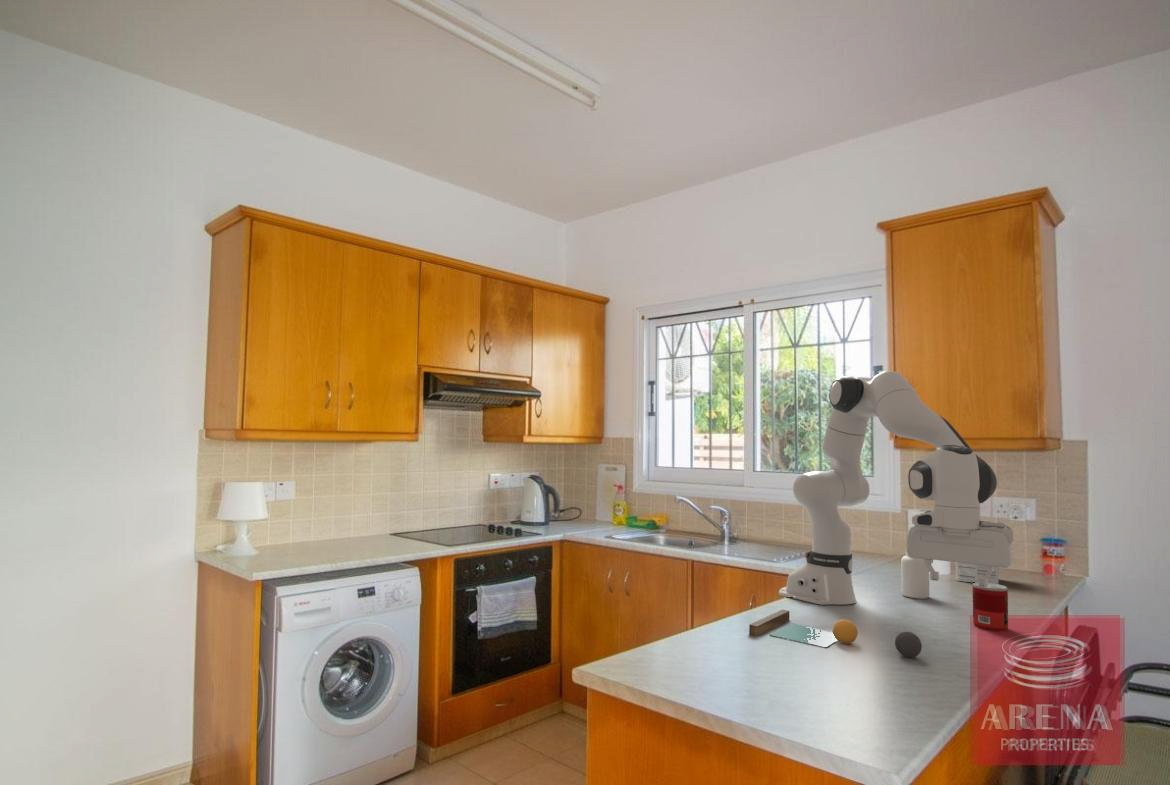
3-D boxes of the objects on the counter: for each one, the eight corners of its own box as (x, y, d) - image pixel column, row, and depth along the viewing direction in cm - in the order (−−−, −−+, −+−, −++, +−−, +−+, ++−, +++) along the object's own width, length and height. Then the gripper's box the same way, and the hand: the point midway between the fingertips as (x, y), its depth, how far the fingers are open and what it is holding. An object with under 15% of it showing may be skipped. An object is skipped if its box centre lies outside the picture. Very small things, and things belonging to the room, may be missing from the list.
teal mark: (769, 635, 165) (769, 634, 165) (792, 624, 176) (792, 623, 176) (826, 648, 156) (826, 647, 156) (846, 635, 167) (846, 634, 167)
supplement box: (956, 574, 247) (955, 526, 248) (998, 579, 241) (997, 530, 242) (955, 580, 236) (954, 530, 237) (999, 586, 229) (998, 534, 230)
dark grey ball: (891, 656, 151) (891, 632, 151) (898, 651, 155) (898, 627, 155) (918, 662, 147) (918, 637, 148) (924, 656, 151) (924, 632, 152)
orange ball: (829, 643, 160) (829, 620, 160) (837, 638, 164) (837, 615, 164) (853, 648, 156) (853, 624, 156) (860, 643, 160) (860, 619, 161)
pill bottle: (927, 594, 213) (926, 547, 214) (931, 600, 206) (930, 551, 207) (899, 592, 216) (899, 545, 217) (903, 597, 208) (902, 549, 209)
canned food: (1013, 632, 173) (1012, 589, 173) (979, 630, 174) (978, 587, 175) (1001, 624, 180) (1000, 583, 181) (968, 622, 182) (968, 581, 182)
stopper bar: (749, 634, 165) (749, 624, 165) (782, 618, 180) (782, 609, 181) (756, 636, 164) (756, 626, 164) (789, 620, 179) (789, 610, 179)
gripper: (1014, 522, 143) (1016, 588, 142) (911, 514, 156) (912, 574, 155) (1010, 524, 138) (1012, 593, 137) (904, 516, 151) (905, 578, 150)
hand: (958, 583), depth 146 cm, fingers open, 8 cm apart
